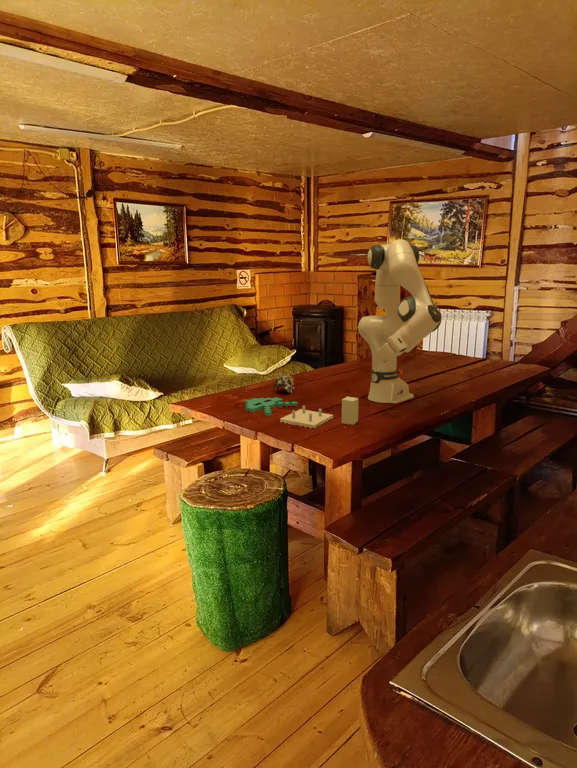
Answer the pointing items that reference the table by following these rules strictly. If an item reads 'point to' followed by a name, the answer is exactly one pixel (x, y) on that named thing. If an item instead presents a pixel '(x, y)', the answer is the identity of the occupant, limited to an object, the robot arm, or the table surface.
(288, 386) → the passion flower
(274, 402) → the alien figure
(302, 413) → the pin plate
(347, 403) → the beige rectangular block
